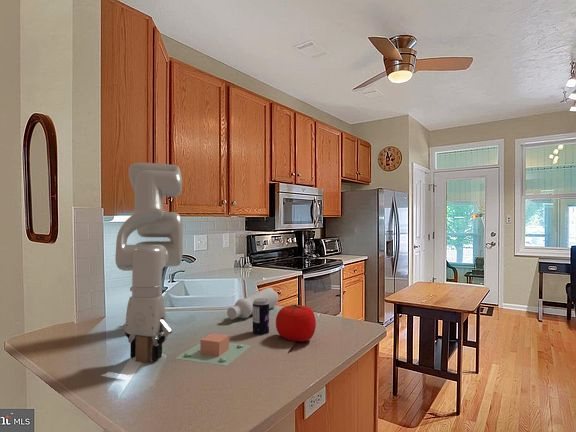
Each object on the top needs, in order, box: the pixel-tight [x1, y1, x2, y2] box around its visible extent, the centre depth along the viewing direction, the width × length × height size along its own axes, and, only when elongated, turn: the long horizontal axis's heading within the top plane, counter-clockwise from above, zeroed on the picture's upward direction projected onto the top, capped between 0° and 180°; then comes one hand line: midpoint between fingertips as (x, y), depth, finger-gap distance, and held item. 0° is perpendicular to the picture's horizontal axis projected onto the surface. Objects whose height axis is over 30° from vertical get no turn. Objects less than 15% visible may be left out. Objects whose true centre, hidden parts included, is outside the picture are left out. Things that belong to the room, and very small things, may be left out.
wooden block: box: [134, 335, 154, 364], centre depth 93 cm, size 4×4×8 cm
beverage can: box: [252, 298, 270, 336], centre depth 118 cm, size 6×6×12 cm
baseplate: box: [174, 342, 252, 367], centre depth 99 cm, size 16×16×2 cm
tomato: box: [275, 303, 317, 343], centre depth 113 cm, size 13×14×12 cm
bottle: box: [226, 287, 280, 320], centre depth 145 cm, size 9×9×30 cm
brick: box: [199, 333, 230, 356], centre depth 99 cm, size 6×6×4 cm
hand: (146, 357), depth 93 cm, fingers open, 6 cm apart
